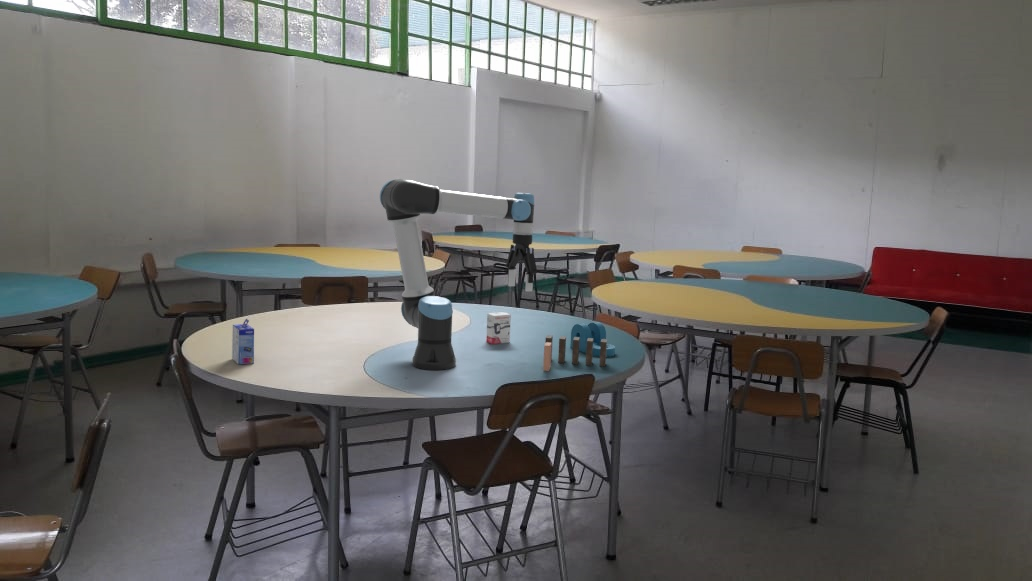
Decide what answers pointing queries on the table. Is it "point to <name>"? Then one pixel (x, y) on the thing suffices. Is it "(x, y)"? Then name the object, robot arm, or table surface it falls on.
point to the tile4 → (575, 350)
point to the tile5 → (589, 351)
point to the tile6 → (603, 352)
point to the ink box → (498, 327)
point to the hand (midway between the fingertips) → (520, 288)
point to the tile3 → (562, 349)
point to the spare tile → (547, 356)
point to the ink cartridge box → (243, 343)
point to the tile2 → (549, 341)
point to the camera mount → (591, 331)
